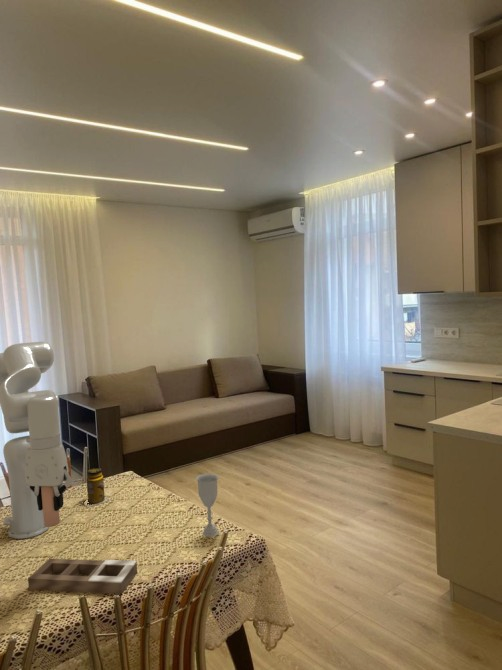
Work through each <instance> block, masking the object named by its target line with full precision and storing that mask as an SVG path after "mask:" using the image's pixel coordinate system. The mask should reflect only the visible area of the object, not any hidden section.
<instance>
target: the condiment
mask: <svg viewBox="0 0 502 670" xmlns="http://www.w3.org/2000/svg"><path fill="white" fill-rule="evenodd" d="M102 472H103V470H102V469H101V468H100V467H97V468H96V467H94V468H91V469H88V470H87V472H86V473H87V475H86V477H87V478H86V487H87V488H86V490H87V499H85V500H81V501H79V503H80V504H82V505H83V504H84V502H85V501H86V500H88V502H89V503H87V508H91V507H93V506H96V505H99V504H102V503H106V502H108V501H109V498H106V497H105V484H104V475H103V473H102ZM82 502H83V503H82ZM88 504H90V505H88ZM91 504H93V505H91ZM85 507H86V505H85Z"/></svg>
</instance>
